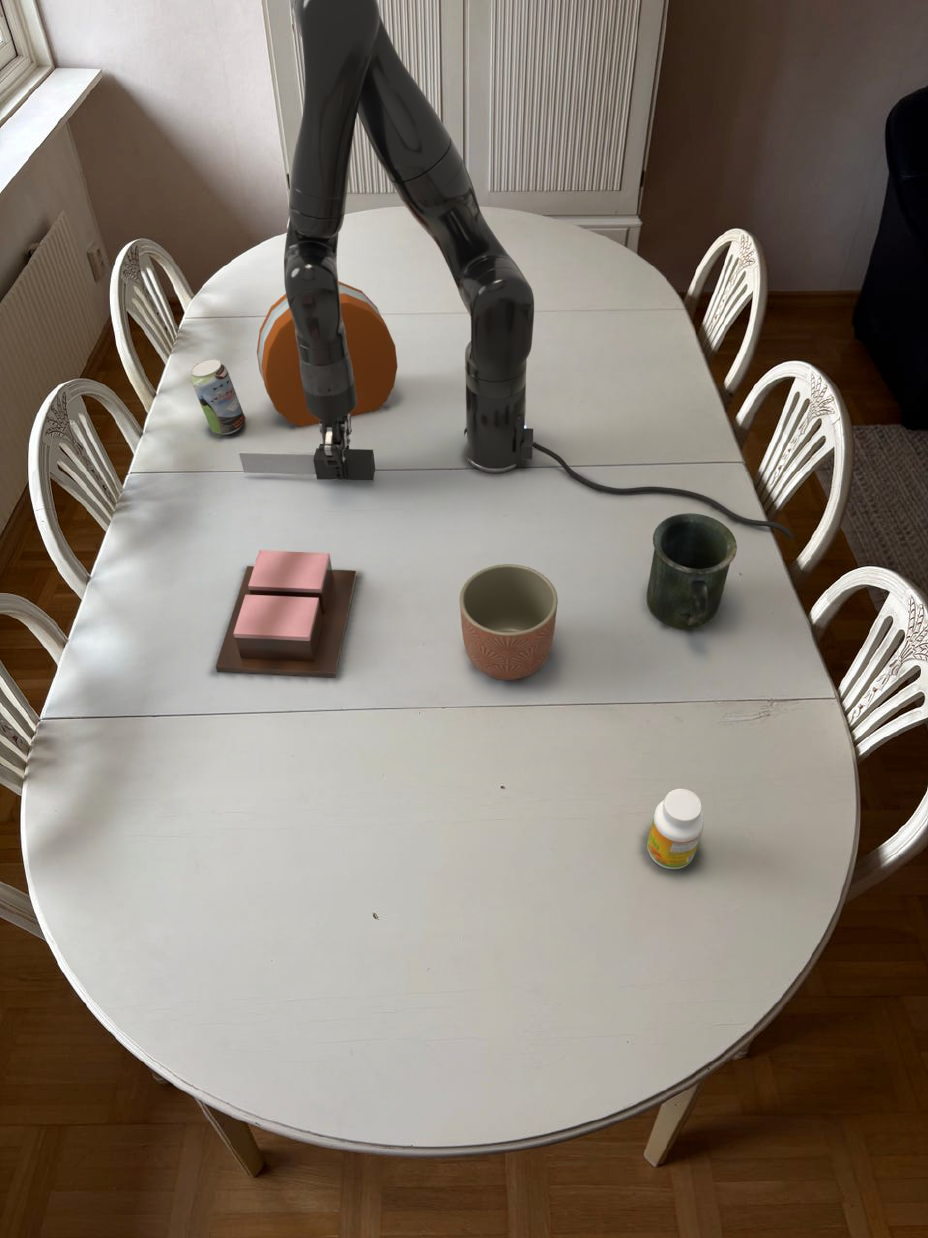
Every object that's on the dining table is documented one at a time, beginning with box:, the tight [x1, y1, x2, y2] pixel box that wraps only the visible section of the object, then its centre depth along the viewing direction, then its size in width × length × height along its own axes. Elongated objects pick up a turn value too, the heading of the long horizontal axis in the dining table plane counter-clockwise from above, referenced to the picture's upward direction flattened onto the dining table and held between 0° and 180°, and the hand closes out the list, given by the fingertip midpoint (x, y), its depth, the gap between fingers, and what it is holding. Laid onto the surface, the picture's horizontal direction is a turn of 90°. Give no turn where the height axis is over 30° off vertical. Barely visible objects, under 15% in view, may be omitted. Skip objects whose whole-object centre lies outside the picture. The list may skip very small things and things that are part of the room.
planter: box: [459, 563, 559, 681], centre depth 130 cm, size 12×12×11 cm
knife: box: [238, 447, 377, 482], centre depth 157 cm, size 21×3×4 cm, turn 85°
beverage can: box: [190, 358, 246, 436], centre depth 164 cm, size 6×7×12 cm
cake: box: [215, 549, 358, 678], centre depth 136 cm, size 16×19×6 cm
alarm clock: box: [256, 280, 398, 427], centre depth 164 cm, size 22×10×23 cm, turn 108°
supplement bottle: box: [646, 788, 705, 870], centre depth 110 cm, size 5×5×10 cm
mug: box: [645, 512, 738, 630], centre depth 134 cm, size 11×15×12 cm
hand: (342, 470), depth 157 cm, fingers closed on knife, 3 cm apart
